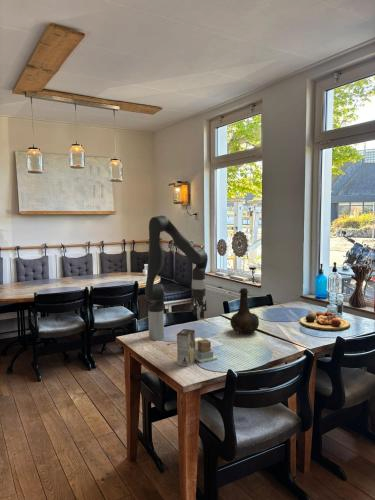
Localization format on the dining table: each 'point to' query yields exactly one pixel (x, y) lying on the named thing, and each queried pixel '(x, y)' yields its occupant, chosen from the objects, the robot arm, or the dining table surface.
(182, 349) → the coffee box
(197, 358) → the tower base
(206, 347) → the walnut brick
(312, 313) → the wooden plate with food
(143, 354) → the dining table surface
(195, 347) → the cream brick
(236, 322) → the glass bottle
